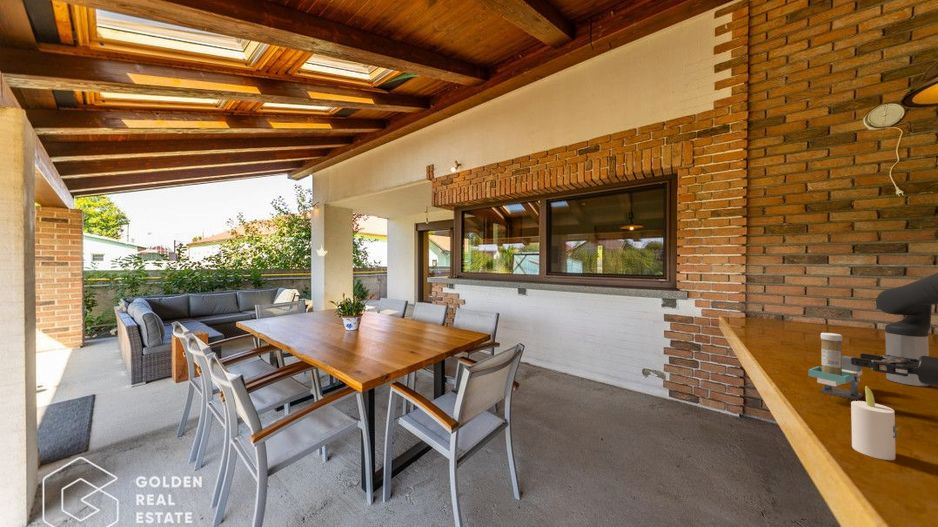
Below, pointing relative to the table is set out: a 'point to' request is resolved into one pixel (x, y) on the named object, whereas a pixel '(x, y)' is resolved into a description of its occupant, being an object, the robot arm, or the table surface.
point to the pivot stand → (844, 393)
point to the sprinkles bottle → (831, 353)
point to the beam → (834, 379)
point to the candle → (873, 428)
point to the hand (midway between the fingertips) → (856, 358)
